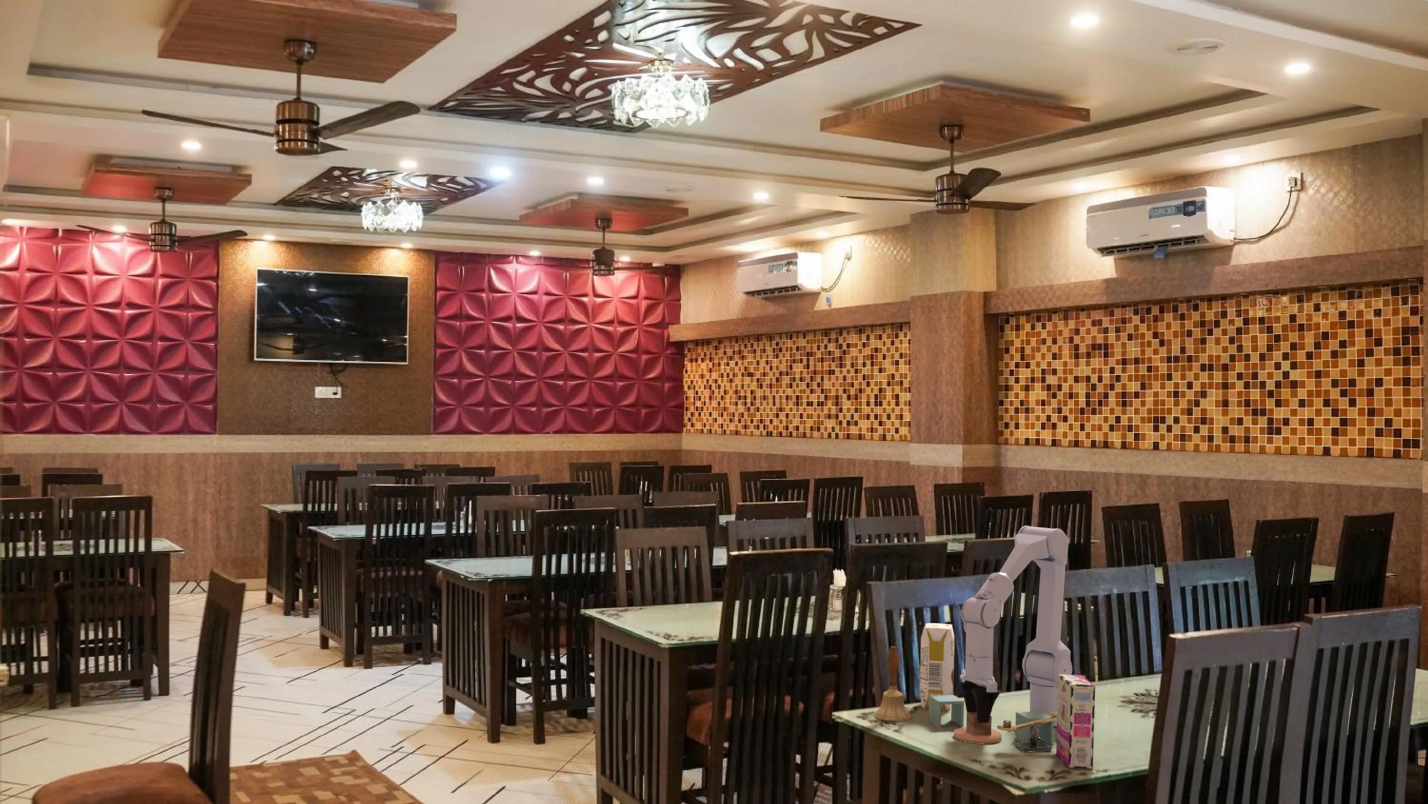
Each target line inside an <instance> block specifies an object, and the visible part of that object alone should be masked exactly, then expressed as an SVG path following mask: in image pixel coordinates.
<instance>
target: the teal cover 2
mask: <svg viewBox="0 0 1428 804" xmlns="http://www.w3.org/2000/svg"><path fill="white" fill-rule="evenodd" d="M1048 717H1051V716H1049V715H1047V714H1045V713H1043V712H1041V711H1032V712H1030V711H1015V725H1014V726H1016V725H1020V724H1024V723H1028V722H1030V721H1036V720H1040V719H1044V718H1048ZM1030 727H1031V726H1030ZM1030 727H1026V728H1022V729H1019V730H1016V731H1014V732H1015V733H1014V734H1015V736H1014V738H1015V739H1016V738H1017V739H1018V741H1019V740H1020V741H1019V742H1021V741H1022V742H1023V743H1030ZM1054 733H1055V726H1054V721H1050V722H1046V723H1042V724H1039V727H1038V732H1037V738H1038V737H1040V738H1041V739H1040V738H1039V739H1040V740H1042V741H1044V742H1045V741H1046V742H1045V743H1047V742H1048V743H1047V744H1048V745H1051V744H1053V745H1054V742H1055V741H1054ZM1017 739H1016V740H1017ZM1022 742H1021V743H1022Z"/></svg>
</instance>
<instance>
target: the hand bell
mask: <svg viewBox="0 0 1428 804" xmlns="http://www.w3.org/2000/svg"><path fill="white" fill-rule="evenodd" d="M899 665H900V657H899V652H898V650H897V646H895V645H892V646H890V648H889V652H888V655H887V668H888V672H889V688H888V689H887V690H885V691H884V692H883V693H882V700H881V704H880V706H879V708H878V709H877V710H876V711H875V712H874V714H873V716H874V715H875V716H876V717H877V718H876V717H875V718H876V719H878V720H882V721H885V722H906V721H908V720H911V719H912V716H911V714H910V713H909V712H908V710H907V709H906V706H905V703H904V695H903V693H902V692H900V691H899V690H898V684H897V683H898V682H897V680H898V679H897V675H898V671H899V667H900V666H899Z"/></svg>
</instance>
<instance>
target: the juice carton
mask: <svg viewBox="0 0 1428 804" xmlns="http://www.w3.org/2000/svg"><path fill="white" fill-rule="evenodd" d="M919 663H920V667H919V668H920V669H919V670H920V672H919V673H920V674H919V675H920V676H919V698H920V703H921V707H922V709H926V710H929V696H933V695H954V677H955V633H954V629H953V624H948V623H934V622H932V623H931V622H930V623H929V622H926V623H925V626H923V629H922V634H921V637H920V662H919ZM950 709H951V704H941V711H949V710H950Z"/></svg>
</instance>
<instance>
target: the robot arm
mask: <svg viewBox="0 0 1428 804" xmlns="http://www.w3.org/2000/svg"><path fill="white" fill-rule="evenodd" d="M1069 541H1070V539H1069V538H1068V536H1067V535H1066V533H1065V532H1064V531H1063V530H1062V529H1061V528H1050V527H1049V528H1048V527H1038V526H1037V527H1036V526H1030V525H1024V526H1022V527H1020V529H1019V531H1018V532H1017V534H1016V535H1015V536H1014V548H1013V549H1012V551H1011V553H1010V554H1009V556H1008V557H1007V559H1006V560H1005V563H1004V564H1003V566H1002V568H1000V570H999V572H993V573H991V574H989V576H988V577H987V580H986V581H985V582H984V583H983V585H982V586H981V587H980V589H979V590H978V591H977V593H976V594H975V596H974V597H970V598H968V599H967V600H965V601H964V602H963V604H962V607H961V610H960V611H959V613H960V614H959V615H960V619H961V621H962V622H963V630H964V632H965V662H964V663H965V665H964V666H965V667H964V668H961V674H960V675H959V679H960V680H961V681H959V682H957V683H958V685H957V686H958V687H959V689H960V691H961V693H962V696H963V701H964V706H965V709H966V710H965V711H966V713H967V712H977V719H978V722H979V723H988V722H989V719H990V716H992V711H993V707H994V705H995V703H996V701H997V698H998V697H999V696H1000V693H1001V692H1000V690H998V682H996V681H995V677H994V673H993V672H994V668H993V667H994V666H993V665H994V660H993V659H994V629H995V626H997V624H998V623H999V621H1000V618H1001V612H1002V611H1003V605H1004V604H1005V603H1006V601H1007V600H1008V598H1009V597H1010V596H1011V594H1012V592H1013V591H1014V589H1015V586H1014V581H1015V580H1017V578H1018V576H1020V575H1021V573H1022V572H1023V570H1025V568H1027V566H1028V565H1029V564H1030V563H1031V561H1033V562H1035V564H1036V565H1037V566H1038V567H1039V569H1040V574H1039V575H1040V577H1039V591H1038V603H1037V604H1038V605H1037V618H1036V631H1035V632H1036V634H1035V638H1034V639H1033V640H1032V641H1030V642H1029V643H1028V644H1026V646H1025V647H1026V648H1025V653H1024V657H1023V658H1022V665H1021V666H1022V672H1023V674H1024V676H1025V677H1027V679H1026V680H1027V681H1028V682H1029V712H1032V711H1041V712H1043V713H1045V714H1047V715H1049V716H1051V717H1052V715H1051V712H1054V711H1057V703H1058V674H1068V675H1073V664H1072V661H1071V650H1070V649H1069V647H1067V646H1066V645H1065V644H1064V643H1063V642H1062V640H1061V633H1062V623H1063V622H1062V619H1063V608H1064V607H1063V606H1064V591H1065V577H1066V565H1067V564H1068V554H1069V553H1068V552H1069ZM1030 722H1032V721H1030ZM1054 727H1057V720H1054ZM1037 728H1039V724H1038V727H1037Z"/></svg>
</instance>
